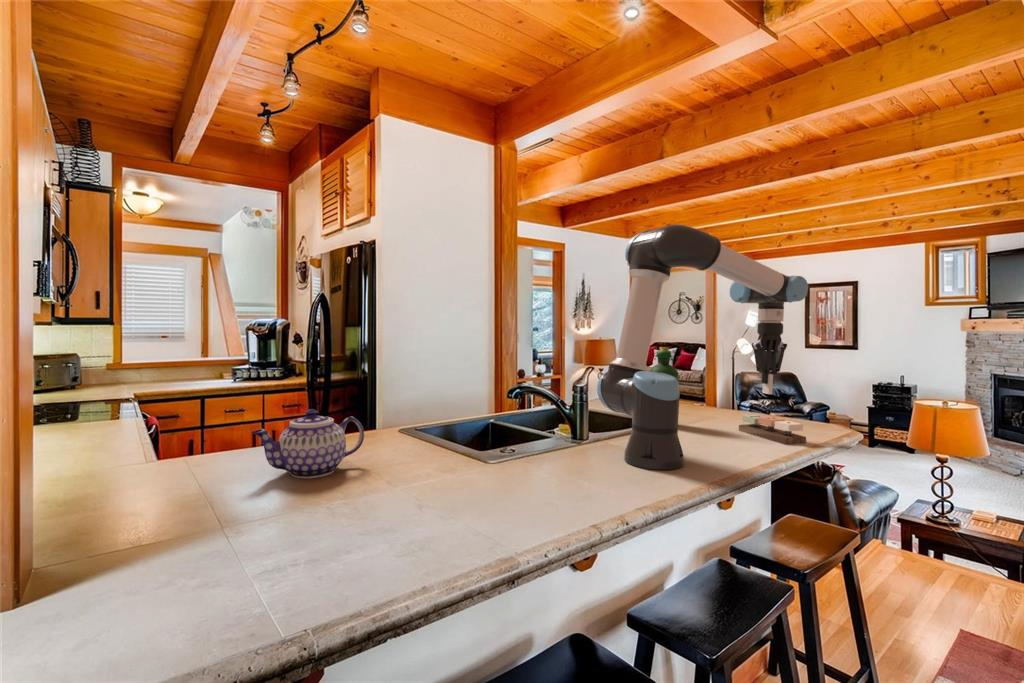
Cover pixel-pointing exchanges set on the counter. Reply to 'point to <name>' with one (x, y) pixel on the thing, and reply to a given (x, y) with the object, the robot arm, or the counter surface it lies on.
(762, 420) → the terracotta tile
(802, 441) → the button board
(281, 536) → the counter surface
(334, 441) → the teapot
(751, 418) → the sage tile
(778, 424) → the cream tile
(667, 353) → the bottle
